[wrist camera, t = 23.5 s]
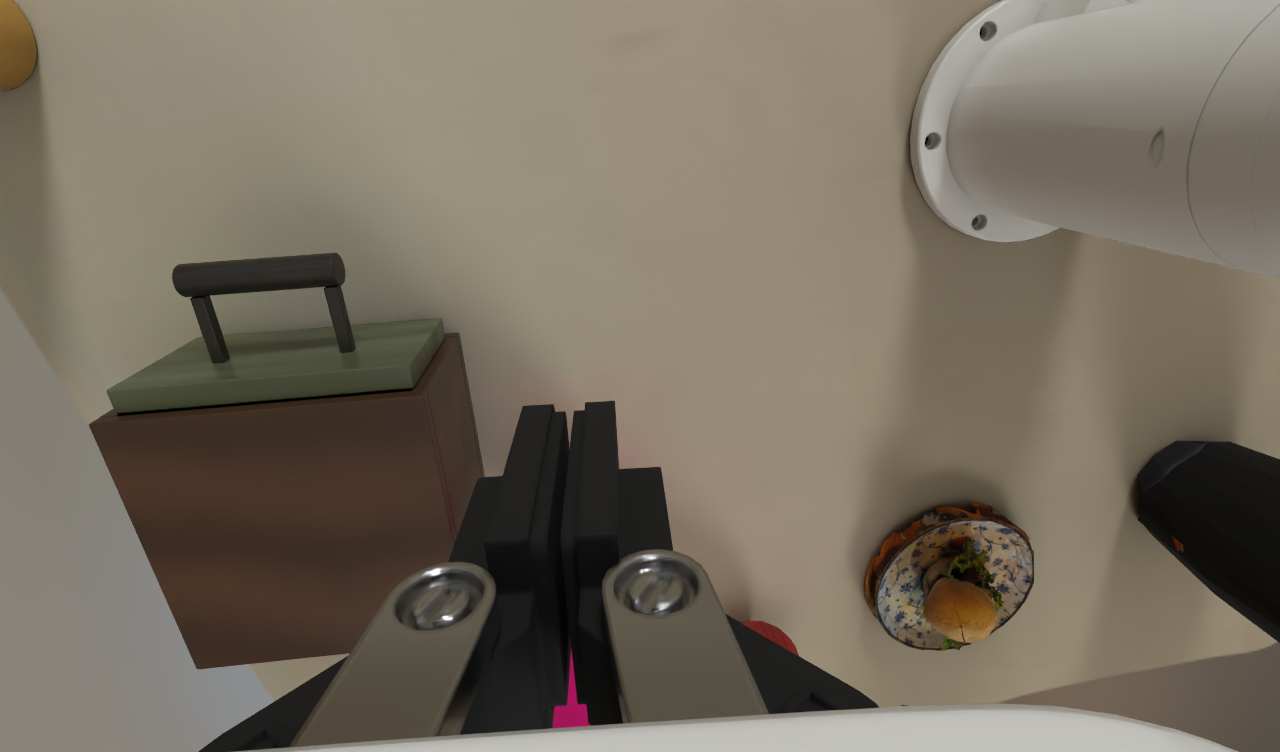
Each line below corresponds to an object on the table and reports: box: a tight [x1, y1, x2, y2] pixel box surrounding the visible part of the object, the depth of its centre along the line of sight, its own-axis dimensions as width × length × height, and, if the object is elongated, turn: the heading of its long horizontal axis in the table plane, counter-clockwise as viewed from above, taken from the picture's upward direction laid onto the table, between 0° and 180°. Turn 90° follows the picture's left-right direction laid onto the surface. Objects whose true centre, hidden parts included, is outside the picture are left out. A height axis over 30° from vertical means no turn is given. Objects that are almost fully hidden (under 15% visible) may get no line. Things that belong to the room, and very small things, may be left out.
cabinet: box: [89, 333, 485, 669], centre depth 35 cm, size 14×14×9 cm
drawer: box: [107, 253, 445, 414], centre depth 33 cm, size 18×13×7 cm
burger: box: [865, 503, 1034, 651], centre depth 43 cm, size 12×12×8 cm
